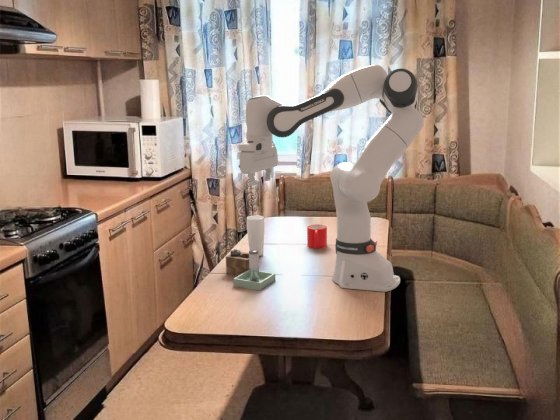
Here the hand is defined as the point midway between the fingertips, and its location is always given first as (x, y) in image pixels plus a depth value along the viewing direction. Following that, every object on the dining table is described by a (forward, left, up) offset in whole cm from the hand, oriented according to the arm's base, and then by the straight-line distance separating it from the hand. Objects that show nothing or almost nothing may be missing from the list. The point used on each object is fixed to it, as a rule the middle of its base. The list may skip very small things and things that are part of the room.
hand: (260, 182), depth 202 cm
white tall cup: (+10, -12, -31) cm, 35 cm away
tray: (-6, +15, -31) cm, 35 cm away
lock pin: (-5, +15, -31) cm, 35 cm away
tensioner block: (+4, +7, -31) cm, 32 cm away
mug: (-7, -31, -31) cm, 45 cm away
